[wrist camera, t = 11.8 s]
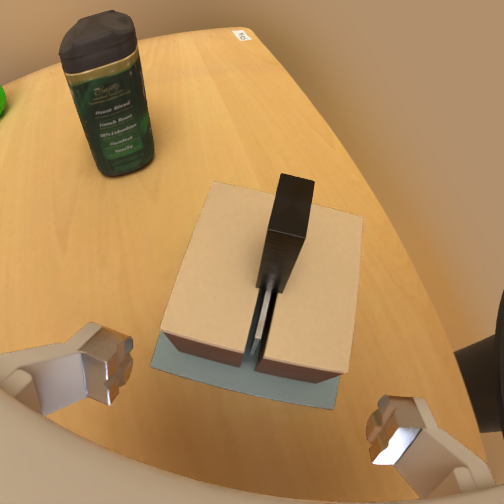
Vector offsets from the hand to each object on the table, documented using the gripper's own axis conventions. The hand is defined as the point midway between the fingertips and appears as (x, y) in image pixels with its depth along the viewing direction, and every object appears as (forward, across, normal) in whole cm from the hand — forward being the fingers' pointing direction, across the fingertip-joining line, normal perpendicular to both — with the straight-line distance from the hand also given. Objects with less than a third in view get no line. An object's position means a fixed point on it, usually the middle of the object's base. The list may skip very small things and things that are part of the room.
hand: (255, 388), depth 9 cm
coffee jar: (+30, +21, -4) cm, 37 cm away
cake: (+19, 0, +6) cm, 20 cm away
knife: (+17, 0, +5) cm, 18 cm away
